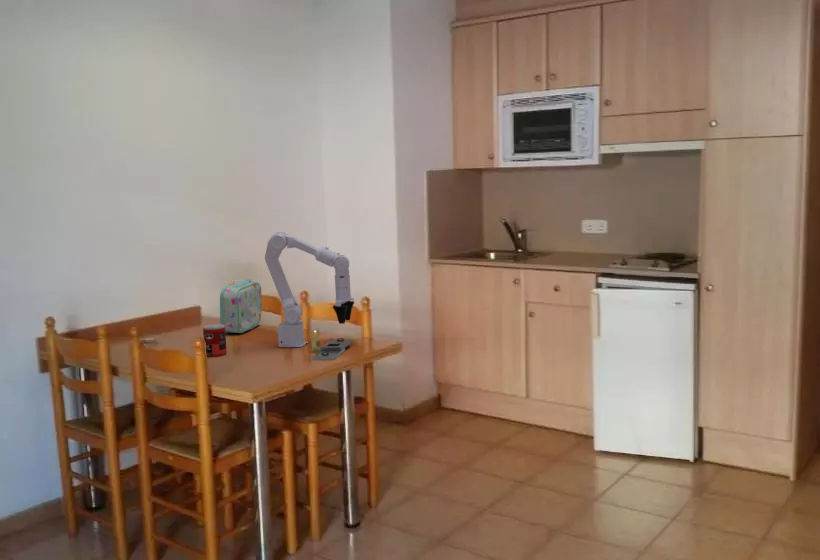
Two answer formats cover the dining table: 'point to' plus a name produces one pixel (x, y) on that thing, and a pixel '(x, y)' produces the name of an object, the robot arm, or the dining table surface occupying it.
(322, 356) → the chain end lower
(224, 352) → the canned food
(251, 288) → the lunch box
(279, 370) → the dining table surface
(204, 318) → the dining table surface
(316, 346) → the brass pin
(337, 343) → the chain end upper
